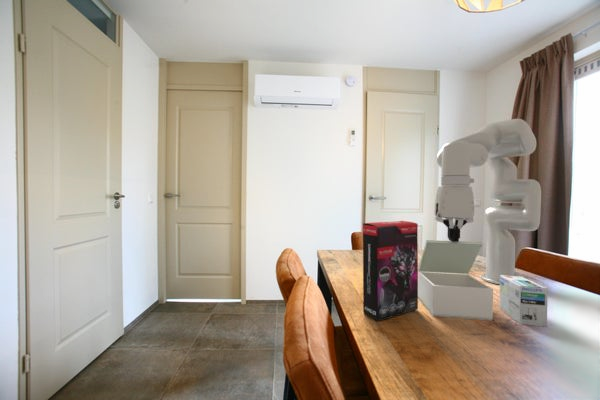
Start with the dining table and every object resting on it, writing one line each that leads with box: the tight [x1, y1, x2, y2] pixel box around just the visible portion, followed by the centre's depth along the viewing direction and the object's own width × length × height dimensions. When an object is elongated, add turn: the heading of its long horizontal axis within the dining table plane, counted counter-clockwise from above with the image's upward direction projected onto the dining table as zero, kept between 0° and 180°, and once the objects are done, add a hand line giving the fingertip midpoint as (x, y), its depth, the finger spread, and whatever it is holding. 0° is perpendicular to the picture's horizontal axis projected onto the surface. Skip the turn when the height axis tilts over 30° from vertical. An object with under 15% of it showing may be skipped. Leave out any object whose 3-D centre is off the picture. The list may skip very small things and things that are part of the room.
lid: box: [418, 239, 483, 275], centre depth 83 cm, size 16×14×1 cm
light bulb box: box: [498, 275, 549, 327], centre depth 75 cm, size 11×7×11 cm, turn 168°
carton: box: [418, 271, 494, 321], centre depth 80 cm, size 16×14×9 cm
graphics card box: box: [362, 220, 419, 322], centre depth 77 cm, size 17×7×27 cm, turn 117°
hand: (453, 240), depth 80 cm, fingers closed
